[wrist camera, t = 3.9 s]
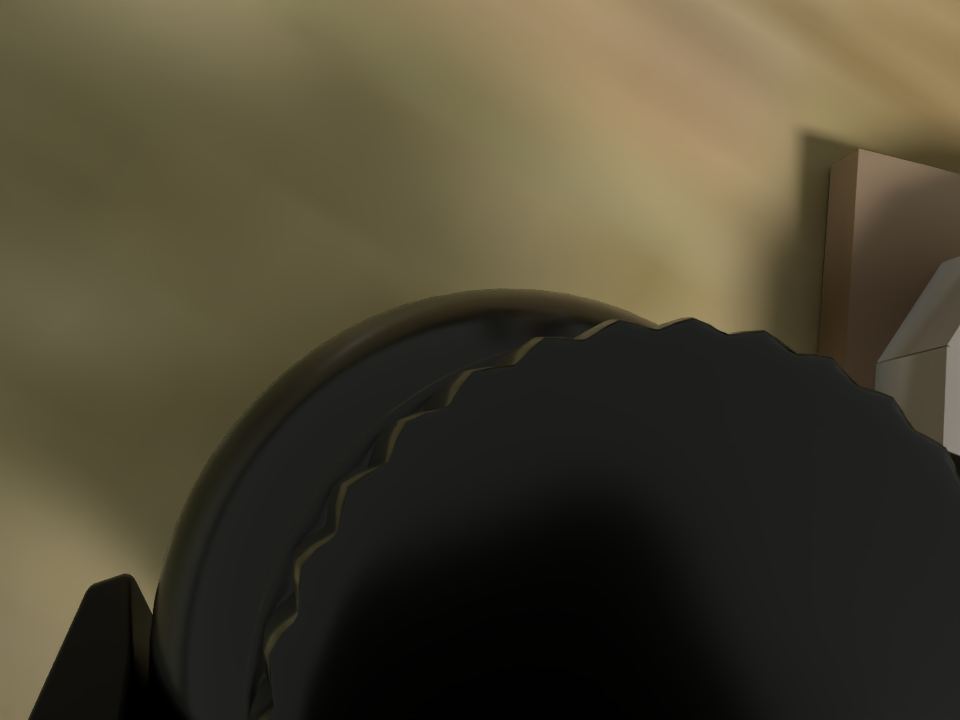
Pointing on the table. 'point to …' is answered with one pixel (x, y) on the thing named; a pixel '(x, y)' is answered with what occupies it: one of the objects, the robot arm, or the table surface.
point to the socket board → (896, 286)
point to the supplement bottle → (562, 531)
